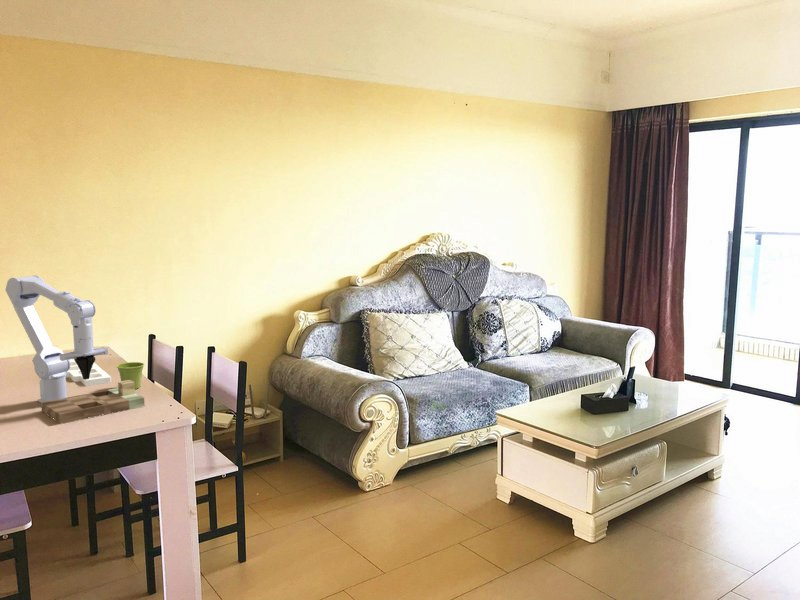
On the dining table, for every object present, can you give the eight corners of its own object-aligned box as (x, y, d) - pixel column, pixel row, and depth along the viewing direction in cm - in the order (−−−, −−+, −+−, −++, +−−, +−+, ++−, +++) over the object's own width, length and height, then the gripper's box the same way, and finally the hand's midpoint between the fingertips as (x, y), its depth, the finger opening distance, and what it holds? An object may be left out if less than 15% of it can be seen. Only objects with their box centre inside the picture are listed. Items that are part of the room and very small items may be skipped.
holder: (111, 383, 247) (111, 377, 247) (58, 391, 237) (58, 384, 236) (87, 362, 283) (86, 356, 283) (40, 367, 273) (39, 361, 272)
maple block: (118, 393, 221) (117, 381, 220) (130, 391, 224) (129, 379, 223) (123, 395, 218) (122, 384, 217) (135, 393, 221) (134, 382, 220)
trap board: (41, 411, 211) (41, 402, 211) (122, 395, 229) (122, 387, 229) (60, 423, 198) (59, 414, 198) (144, 406, 216) (144, 397, 216)
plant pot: (137, 383, 246) (135, 360, 245) (150, 387, 240) (149, 364, 239) (113, 388, 239) (111, 365, 238) (126, 392, 233) (124, 369, 232)
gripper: (63, 343, 205) (66, 385, 207) (110, 336, 215) (113, 377, 217) (56, 339, 210) (59, 381, 212) (102, 334, 220) (105, 373, 222)
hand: (86, 378), depth 215 cm, fingers closed
